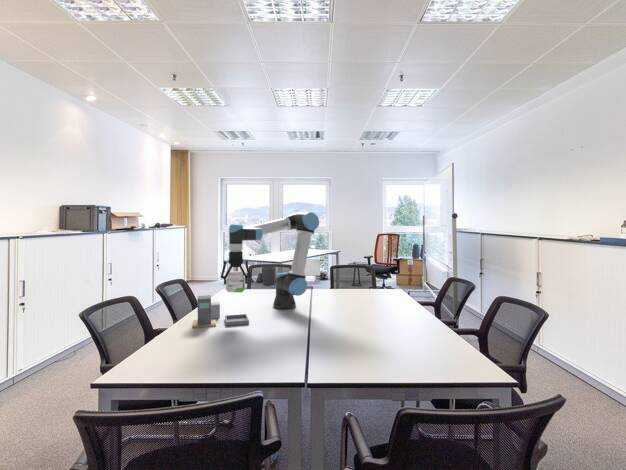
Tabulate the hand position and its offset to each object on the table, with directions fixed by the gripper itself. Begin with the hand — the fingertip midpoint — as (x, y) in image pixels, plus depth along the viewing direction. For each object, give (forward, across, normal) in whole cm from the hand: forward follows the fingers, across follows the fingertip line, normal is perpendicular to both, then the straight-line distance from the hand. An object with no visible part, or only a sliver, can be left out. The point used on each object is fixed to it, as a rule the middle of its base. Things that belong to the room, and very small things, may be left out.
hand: (235, 289), depth 196 cm
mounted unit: (+18, +17, +2) cm, 25 cm away
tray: (+18, -1, +3) cm, 18 cm away
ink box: (+1, 0, 0) cm, 1 cm away
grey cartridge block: (+18, +11, -12) cm, 25 cm away
